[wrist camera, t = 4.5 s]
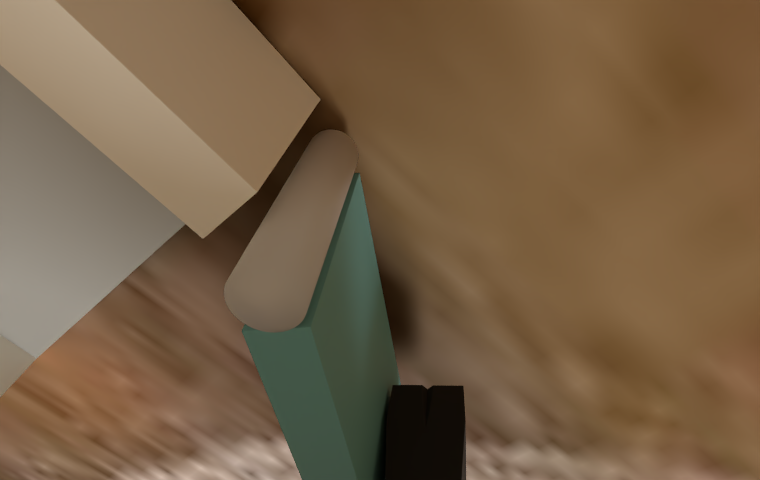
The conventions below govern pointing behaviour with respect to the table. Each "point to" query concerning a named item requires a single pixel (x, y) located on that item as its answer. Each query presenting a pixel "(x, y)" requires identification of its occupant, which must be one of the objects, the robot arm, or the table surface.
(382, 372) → the gate
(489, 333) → the table surface
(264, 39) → the bay
